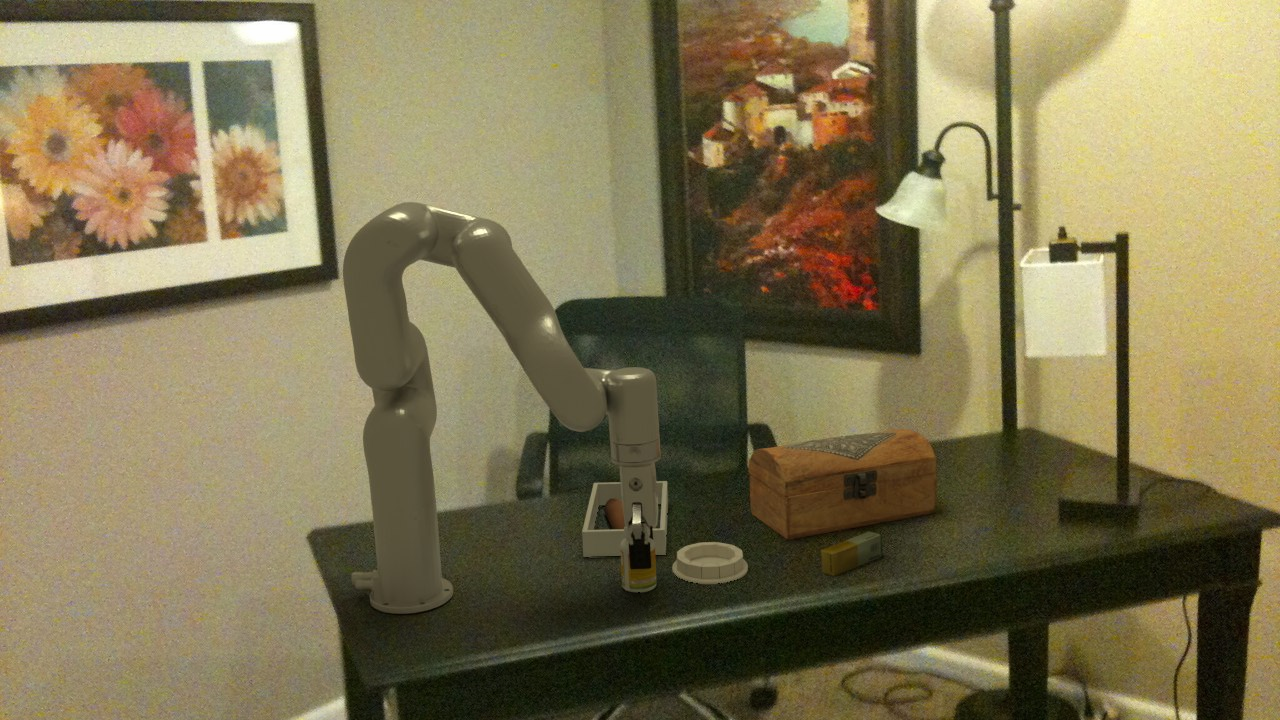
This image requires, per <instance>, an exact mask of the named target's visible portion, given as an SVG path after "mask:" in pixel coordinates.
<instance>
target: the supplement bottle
mask: <svg viewBox="0 0 1280 720" xmlns="http://www.w3.org/2000/svg"><path fill="white" fill-rule="evenodd" d="M642 531H643V532H644V529H642ZM624 536H625V539H624V540H623V541H622V542H621V544H620V553H621V557H620V570H621V587H622V589H624V590H625V591H627V592H630V593H638V592H640V593H647V592H650V591H652V590H654V589H655V588H656V587H657V561H656V560H657V559H656V557H657V556H655V543H654V541H653V540H652V539H651V538H649V536H650V526H648V542H650V549H651V568H650V569H631V568H630V558H629V543H630V532H629V529H628V528H627V527H626V526H625V527H624Z"/></svg>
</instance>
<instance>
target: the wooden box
mask: <svg viewBox="0 0 1280 720" xmlns="http://www.w3.org/2000/svg"><path fill="white" fill-rule="evenodd" d="M935 454H936V453H935V452H934V449H933V446H932V445H931V443H930V441H929V440H928V438H926V437H925V436H924V435H922V434H921V433H919V432H917V431H915V430H913V429H907V428H902V429H901V428H900V429H899V428H898V429H892V430H885V431H878V432H877V431H876V432H871V433H869V432H868V433H859V434H852V435H851V434H850V435H842V436H836V437H827V438H821V439H813V440H807V441H802V442H796V443H790V444H785V445H779V446H773V447H765V448H757V449H756V450H753V452H752V454H751V456H750V458H748V474H749V496H750V497H749V499H750V511H751V514H752V515H753V516H754V517H756V519H758V520H760V521H761V522H763V523H764V524H765V525H767V526H768V527H769V528H771V529H772V530H773V531H774V532H776V533H778V534H780V535H781V537H784V538H785V539H786V540H794V539H800V538H805V537H809V536H815V535H821V534H825V533H832V532H837V531H843V530H849V529H853V528H854V529H855V528H859V527H863V526H864V527H865V526H870V525H876V524H880V522H881V523H887V522H892V521H898V520H905V518H906V519H910V518H911V519H912V518H915V516H917V517H922V516H921V515H923V516H928V515H927V514H929V515H933V514H934V513H935V511H936V502H937V500H936V499H937V490H938V489H937V487H938V474H937V470H938V469H937V465H938V463H937V457H936V455H935Z"/></svg>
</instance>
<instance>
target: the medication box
mask: <svg viewBox="0 0 1280 720" xmlns="http://www.w3.org/2000/svg"><path fill="white" fill-rule="evenodd" d="M882 537H883V534H882V533H880V532H876V531H872V530H869V531H868V530H867V531H866V532H864V533H862V534H861V533H860V534H859V535H856V536H853V537H851V538H849V539H846V540H843V541H841V542H838V543H836V544H834V545H831V546H828V547H826V548H823V549H821V550H820V554H821V556H820V557H821V558H820V560H821V573H823V572H824V574H827V575H830V576H832V577H835V576H838V575H840V574H843V573H846V572H848V571H850V569H851V570H853V569H855V568H857V567H858V568H859V567H860V565H861V566H862V565H865V563H866V564H867V563H870V561H871V562H872V561H873V562H874V561H875V560H878V559H880V558H882V557H883V538H882ZM845 571H846V572H845Z"/></svg>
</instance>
